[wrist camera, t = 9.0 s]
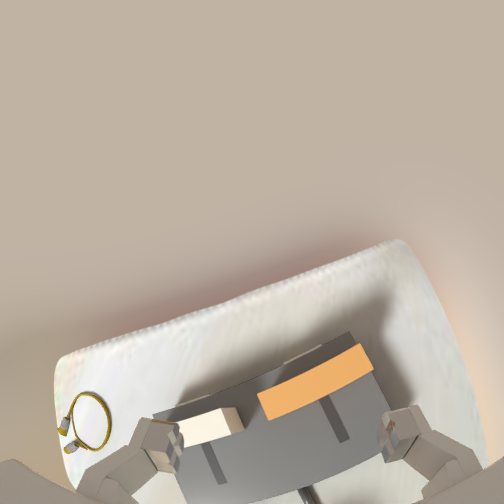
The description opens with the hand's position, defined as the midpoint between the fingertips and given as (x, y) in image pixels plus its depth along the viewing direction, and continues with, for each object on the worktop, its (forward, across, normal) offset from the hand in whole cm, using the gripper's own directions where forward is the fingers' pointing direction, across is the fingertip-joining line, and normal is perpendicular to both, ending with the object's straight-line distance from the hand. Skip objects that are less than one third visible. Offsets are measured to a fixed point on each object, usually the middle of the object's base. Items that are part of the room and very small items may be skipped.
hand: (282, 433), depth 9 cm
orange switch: (+16, -5, +13) cm, 21 cm away
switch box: (+13, -2, +24) cm, 27 cm away
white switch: (+13, +9, +19) cm, 25 cm away
